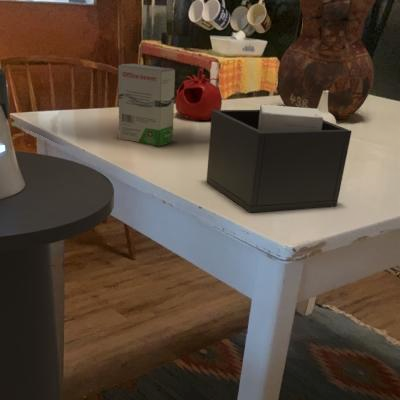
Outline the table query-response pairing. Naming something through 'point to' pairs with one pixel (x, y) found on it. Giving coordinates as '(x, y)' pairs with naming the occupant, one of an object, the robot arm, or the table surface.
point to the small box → (289, 119)
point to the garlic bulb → (325, 108)
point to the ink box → (146, 103)
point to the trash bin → (275, 163)
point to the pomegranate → (198, 98)
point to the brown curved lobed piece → (328, 58)
